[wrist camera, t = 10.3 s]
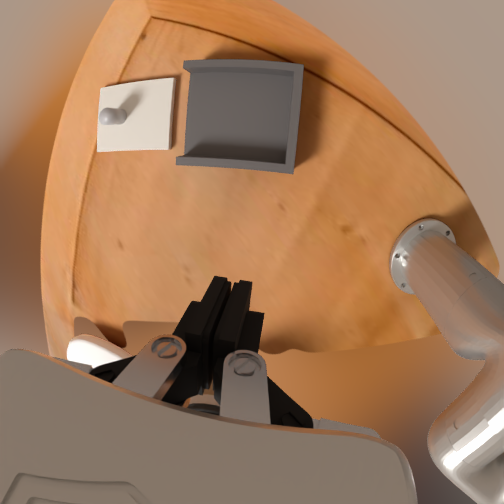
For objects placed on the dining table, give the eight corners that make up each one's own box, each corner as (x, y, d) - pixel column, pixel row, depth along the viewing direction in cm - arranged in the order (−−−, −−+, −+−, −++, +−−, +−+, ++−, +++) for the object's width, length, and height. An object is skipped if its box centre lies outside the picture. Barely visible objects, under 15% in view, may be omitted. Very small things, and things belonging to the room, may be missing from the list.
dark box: (300, 72, 28) (303, 64, 24) (291, 170, 33) (293, 174, 30) (193, 68, 29) (183, 60, 25) (186, 161, 34) (175, 165, 30)
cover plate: (177, 79, 30) (163, 72, 25) (172, 149, 34) (157, 151, 29) (106, 89, 30) (86, 85, 26) (102, 151, 34) (83, 154, 30)
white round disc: (169, 430, 56) (84, 398, 56) (175, 410, 61) (92, 382, 62) (149, 376, 41) (44, 334, 42) (161, 350, 47) (58, 315, 48)
